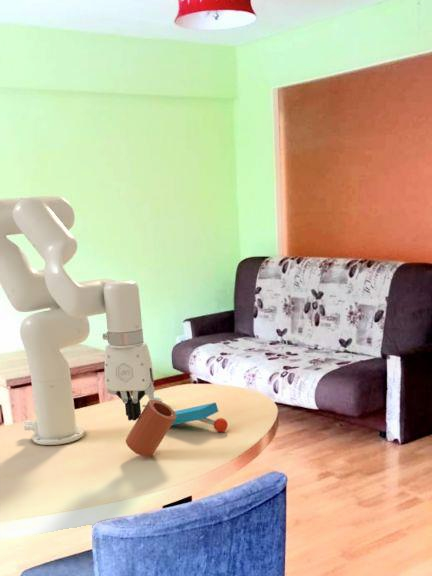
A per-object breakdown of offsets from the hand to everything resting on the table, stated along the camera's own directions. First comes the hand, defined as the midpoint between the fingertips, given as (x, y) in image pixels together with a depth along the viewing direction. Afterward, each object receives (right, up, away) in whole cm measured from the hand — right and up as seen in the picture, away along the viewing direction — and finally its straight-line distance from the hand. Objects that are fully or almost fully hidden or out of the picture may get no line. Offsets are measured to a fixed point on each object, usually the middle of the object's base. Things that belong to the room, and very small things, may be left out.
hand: (134, 418), depth 166 cm
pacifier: (+2, +2, +39) cm, 39 cm away
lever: (+13, -3, +20) cm, 24 cm away
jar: (+1, -6, +2) cm, 7 cm away
